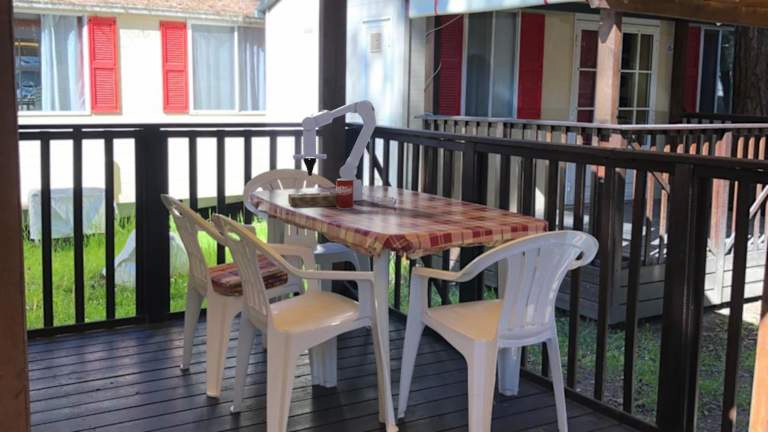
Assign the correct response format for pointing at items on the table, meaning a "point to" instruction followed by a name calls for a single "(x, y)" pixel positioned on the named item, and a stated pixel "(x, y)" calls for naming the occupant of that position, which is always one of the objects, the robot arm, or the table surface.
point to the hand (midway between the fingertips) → (309, 175)
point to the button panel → (312, 200)
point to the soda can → (345, 193)
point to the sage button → (301, 194)
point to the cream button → (324, 193)
